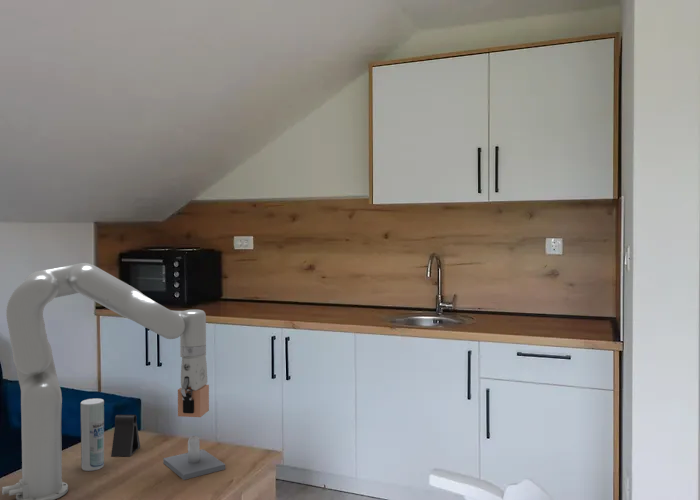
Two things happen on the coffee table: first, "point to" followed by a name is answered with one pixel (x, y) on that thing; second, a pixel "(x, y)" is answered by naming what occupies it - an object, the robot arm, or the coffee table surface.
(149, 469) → the coffee table surface
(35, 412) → the robot arm
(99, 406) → the spray can
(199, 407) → the sleeve
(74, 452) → the coffee table surface
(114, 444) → the phone stand
